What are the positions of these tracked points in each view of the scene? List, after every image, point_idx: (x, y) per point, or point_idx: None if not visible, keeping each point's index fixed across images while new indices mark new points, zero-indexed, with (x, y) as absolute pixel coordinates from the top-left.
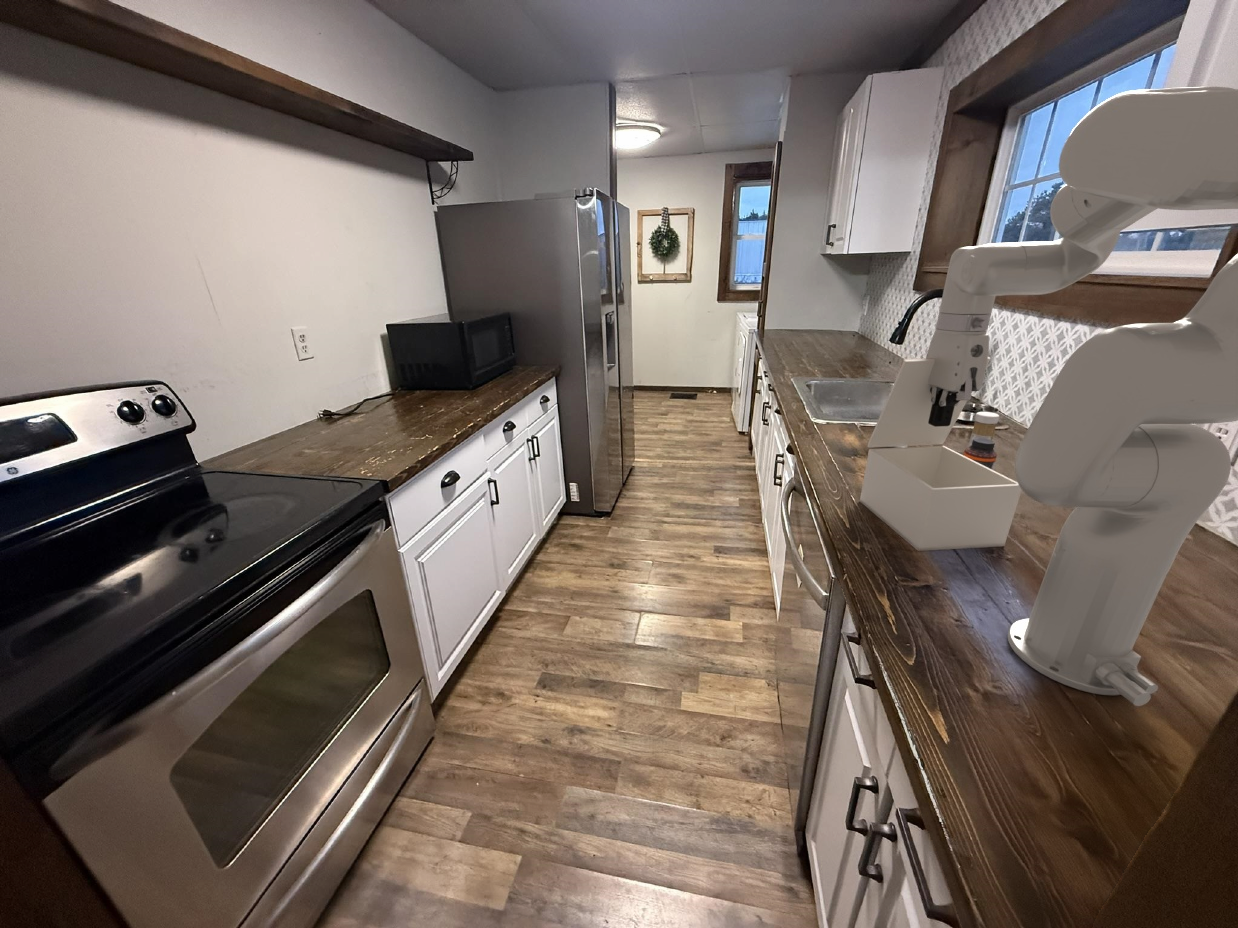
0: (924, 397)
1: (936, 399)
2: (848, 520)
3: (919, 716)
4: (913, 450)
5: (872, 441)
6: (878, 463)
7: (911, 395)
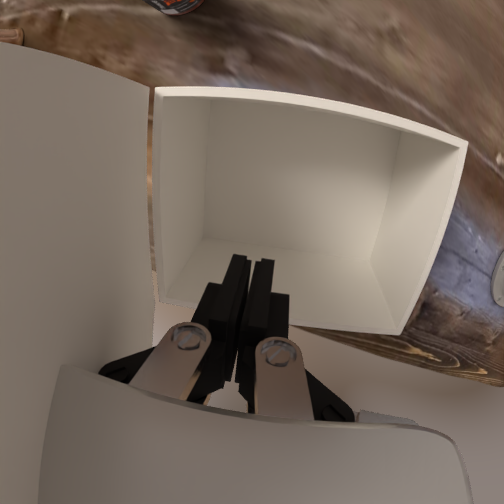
0: None
1: (207, 397)
2: None
3: (474, 377)
4: (163, 188)
5: (153, 312)
6: None
7: None
